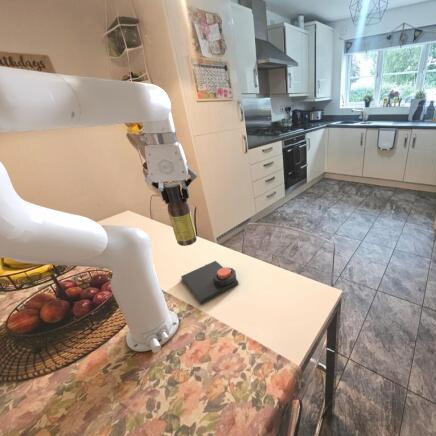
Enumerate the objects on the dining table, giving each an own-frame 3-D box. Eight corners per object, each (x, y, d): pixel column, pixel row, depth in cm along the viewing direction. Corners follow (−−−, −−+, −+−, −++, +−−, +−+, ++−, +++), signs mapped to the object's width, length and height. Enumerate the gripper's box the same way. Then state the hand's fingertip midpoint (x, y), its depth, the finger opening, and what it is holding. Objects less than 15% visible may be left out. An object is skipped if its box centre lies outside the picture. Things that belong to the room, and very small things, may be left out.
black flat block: (241, 282, 83) (240, 274, 81) (201, 304, 74) (199, 296, 73) (219, 263, 94) (217, 255, 92) (182, 280, 85) (179, 272, 84)
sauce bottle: (184, 236, 84) (170, 180, 76) (200, 238, 83) (188, 181, 75) (172, 246, 79) (156, 187, 70) (190, 248, 78) (175, 188, 69)
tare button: (233, 275, 82) (233, 271, 81) (221, 281, 79) (221, 277, 79) (227, 269, 85) (226, 265, 84) (215, 275, 82) (214, 271, 82)
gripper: (122, 143, 62) (143, 209, 70) (192, 139, 65) (204, 202, 73) (133, 139, 69) (150, 200, 76) (195, 136, 72) (206, 194, 80)
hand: (177, 200), depth 75 cm, fingers closed on sauce bottle, 4 cm apart
